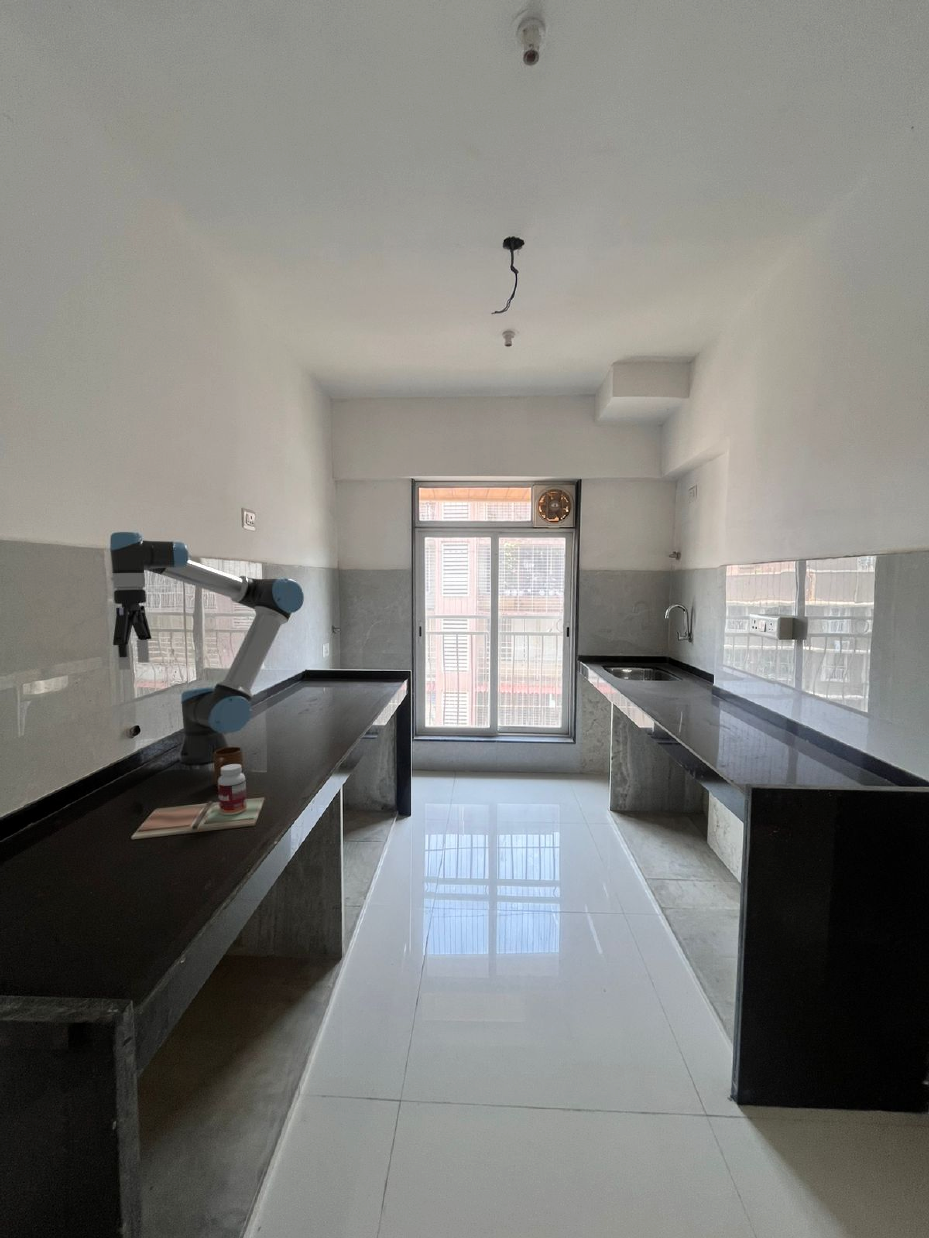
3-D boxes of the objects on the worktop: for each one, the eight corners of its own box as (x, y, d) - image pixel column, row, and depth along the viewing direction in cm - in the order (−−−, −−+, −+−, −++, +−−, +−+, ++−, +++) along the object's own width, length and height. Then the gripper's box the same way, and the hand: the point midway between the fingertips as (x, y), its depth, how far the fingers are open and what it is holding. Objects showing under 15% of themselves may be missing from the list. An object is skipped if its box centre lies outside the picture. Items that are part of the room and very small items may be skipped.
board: (155, 811, 140) (155, 805, 140) (264, 799, 145) (264, 794, 145) (131, 839, 124) (131, 833, 124) (254, 825, 129) (254, 819, 129)
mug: (233, 793, 150) (231, 759, 150) (204, 794, 150) (202, 760, 149) (247, 777, 162) (246, 746, 162) (221, 779, 162) (219, 747, 161)
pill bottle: (215, 812, 135) (212, 767, 135) (239, 803, 140) (236, 761, 139) (227, 818, 131) (224, 772, 131) (251, 809, 136) (249, 765, 135)
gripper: (131, 589, 164) (137, 660, 166) (94, 589, 140) (100, 673, 141) (159, 588, 166) (164, 659, 167) (127, 588, 141) (132, 671, 143)
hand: (135, 665), depth 154 cm, fingers open, 13 cm apart
